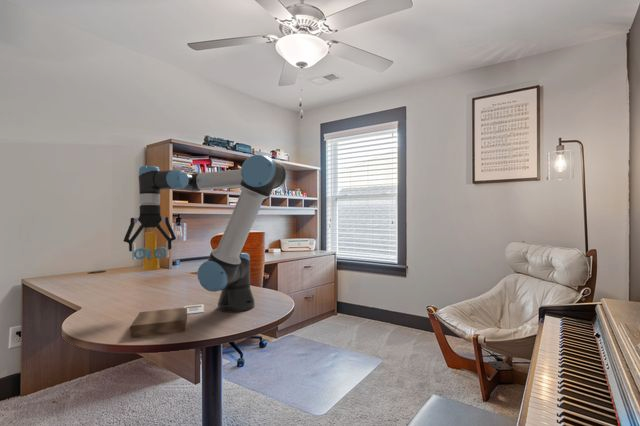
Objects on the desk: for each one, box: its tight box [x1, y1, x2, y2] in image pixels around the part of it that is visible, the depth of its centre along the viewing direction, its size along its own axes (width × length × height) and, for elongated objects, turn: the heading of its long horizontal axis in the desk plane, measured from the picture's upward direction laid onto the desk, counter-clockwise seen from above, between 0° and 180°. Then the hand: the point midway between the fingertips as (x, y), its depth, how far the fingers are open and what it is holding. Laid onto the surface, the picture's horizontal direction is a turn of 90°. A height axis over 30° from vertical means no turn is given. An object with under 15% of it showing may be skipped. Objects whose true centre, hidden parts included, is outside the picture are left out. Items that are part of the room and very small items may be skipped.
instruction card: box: [183, 303, 205, 315], centre depth 138 cm, size 8×12×1 cm, turn 19°
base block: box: [130, 307, 188, 339], centre depth 116 cm, size 16×16×4 cm
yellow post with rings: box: [134, 231, 166, 271], centre depth 134 cm, size 12×10×15 cm
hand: (151, 258), depth 134 cm, fingers closed on yellow post with rings, 11 cm apart
